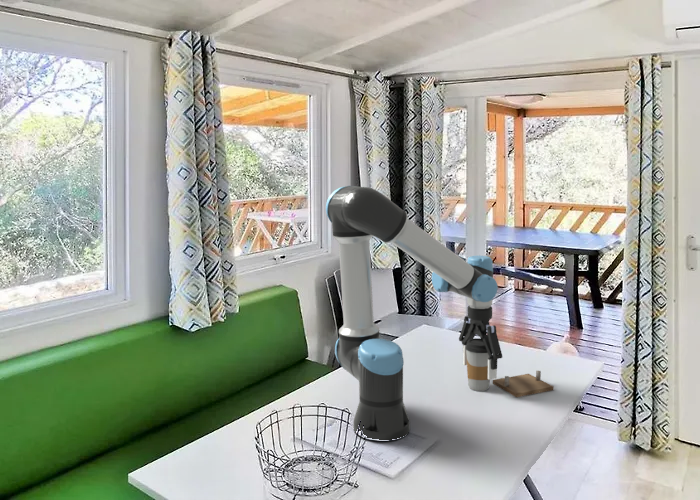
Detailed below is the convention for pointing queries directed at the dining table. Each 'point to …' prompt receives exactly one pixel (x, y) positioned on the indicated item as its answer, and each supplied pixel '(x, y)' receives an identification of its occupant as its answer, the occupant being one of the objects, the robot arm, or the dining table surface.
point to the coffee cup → (477, 365)
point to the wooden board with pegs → (523, 384)
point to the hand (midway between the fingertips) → (479, 371)
